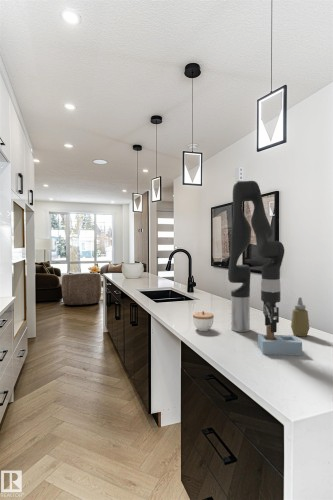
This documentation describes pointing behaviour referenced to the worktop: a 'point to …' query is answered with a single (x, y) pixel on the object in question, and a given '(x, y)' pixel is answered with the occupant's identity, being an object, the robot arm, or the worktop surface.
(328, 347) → the worktop surface
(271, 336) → the dowel
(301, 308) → the squeeze bottle
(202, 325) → the lidded jar
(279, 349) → the socket block
